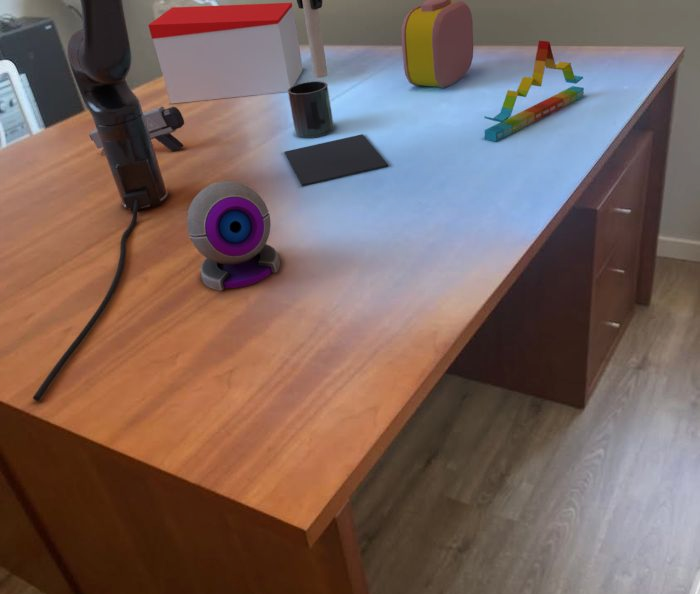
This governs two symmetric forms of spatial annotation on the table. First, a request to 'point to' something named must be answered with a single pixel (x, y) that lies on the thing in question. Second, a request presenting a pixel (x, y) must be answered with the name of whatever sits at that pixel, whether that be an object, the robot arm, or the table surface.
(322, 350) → the table surface
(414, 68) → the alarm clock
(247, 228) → the webcam
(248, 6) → the red-lidded white box
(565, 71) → the chart
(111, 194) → the table surface
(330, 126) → the pen holder
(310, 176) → the desk mat
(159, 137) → the gun
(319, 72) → the marker
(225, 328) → the table surface
